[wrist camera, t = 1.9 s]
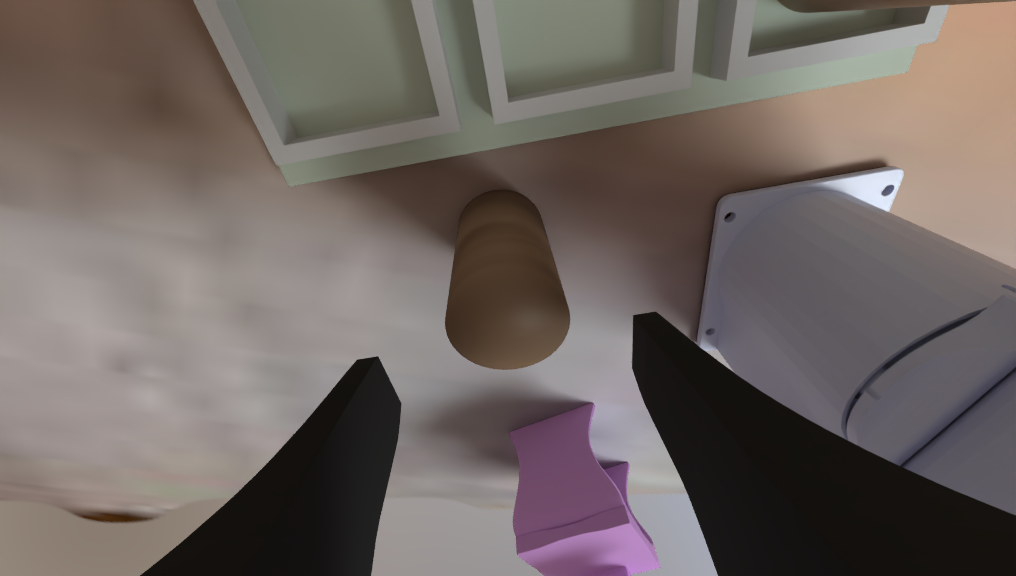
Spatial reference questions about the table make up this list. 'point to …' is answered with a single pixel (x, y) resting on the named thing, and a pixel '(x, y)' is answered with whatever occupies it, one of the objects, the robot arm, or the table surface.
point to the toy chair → (574, 504)
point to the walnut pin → (504, 285)
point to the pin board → (530, 67)
